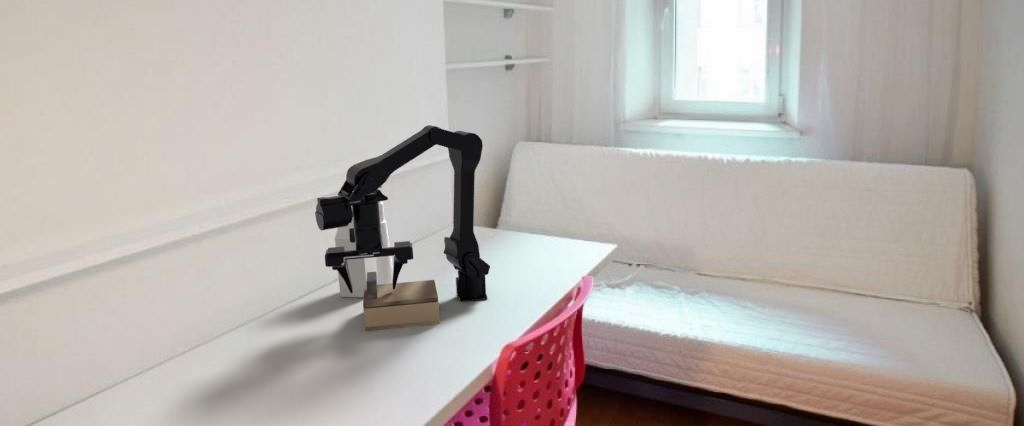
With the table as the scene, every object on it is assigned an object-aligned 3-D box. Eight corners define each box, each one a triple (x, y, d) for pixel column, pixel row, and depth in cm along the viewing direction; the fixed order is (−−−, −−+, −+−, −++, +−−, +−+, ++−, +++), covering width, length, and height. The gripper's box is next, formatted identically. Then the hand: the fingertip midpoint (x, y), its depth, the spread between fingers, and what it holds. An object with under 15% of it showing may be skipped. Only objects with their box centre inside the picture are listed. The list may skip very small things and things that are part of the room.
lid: (434, 282, 168) (433, 263, 167) (438, 300, 156) (436, 279, 155) (364, 289, 165) (362, 269, 164) (363, 307, 154) (361, 286, 153)
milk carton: (367, 298, 175) (360, 222, 170) (340, 297, 176) (332, 222, 172) (378, 288, 181) (372, 215, 177) (352, 287, 183) (345, 215, 178)
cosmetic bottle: (381, 276, 190) (374, 195, 185) (400, 279, 188) (394, 197, 183) (367, 284, 185) (360, 200, 180) (387, 286, 182) (380, 202, 177)
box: (435, 304, 169) (434, 284, 168) (439, 323, 158) (438, 301, 156) (366, 310, 167) (364, 290, 165) (365, 330, 155) (363, 309, 154)
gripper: (409, 210, 165) (413, 275, 169) (325, 217, 162) (332, 282, 166) (410, 222, 154) (415, 291, 158) (321, 229, 151) (328, 299, 155)
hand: (372, 290), depth 160 cm, fingers open, 9 cm apart
